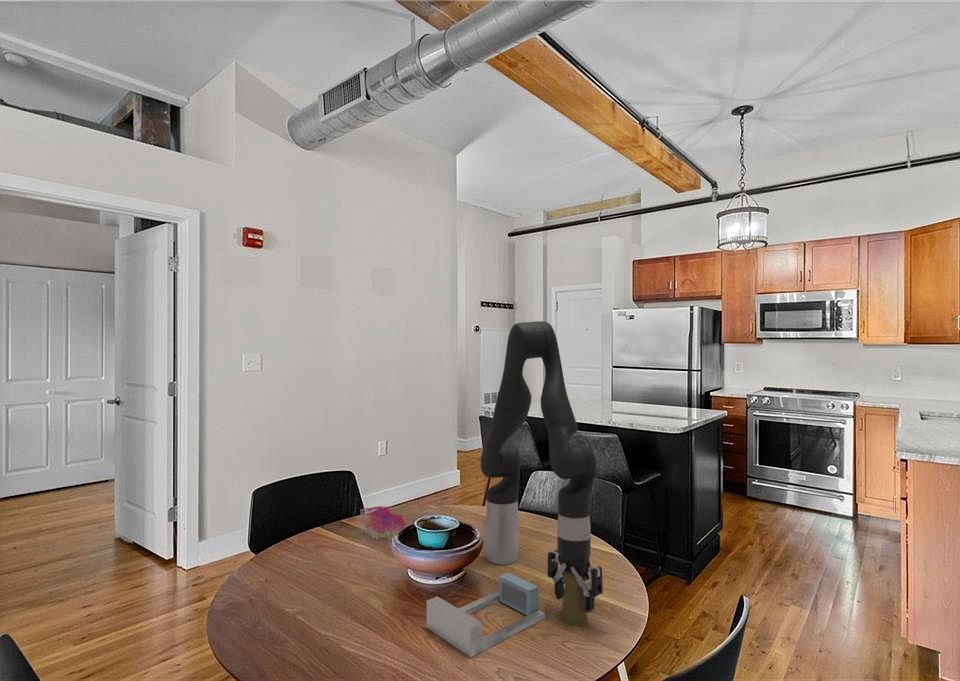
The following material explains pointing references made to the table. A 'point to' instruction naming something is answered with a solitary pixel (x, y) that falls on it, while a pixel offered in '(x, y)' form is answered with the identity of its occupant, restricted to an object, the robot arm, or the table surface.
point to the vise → (471, 624)
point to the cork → (573, 601)
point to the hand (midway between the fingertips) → (574, 604)
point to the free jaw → (518, 593)
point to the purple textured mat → (383, 518)
